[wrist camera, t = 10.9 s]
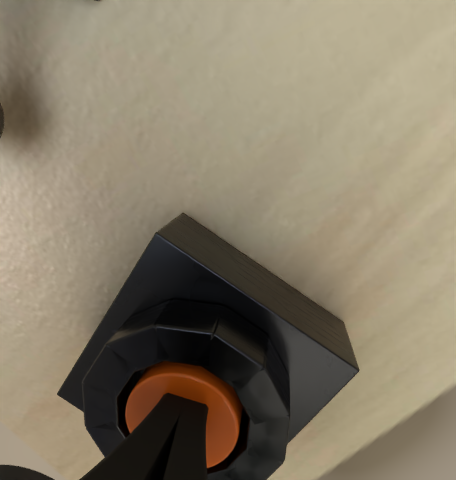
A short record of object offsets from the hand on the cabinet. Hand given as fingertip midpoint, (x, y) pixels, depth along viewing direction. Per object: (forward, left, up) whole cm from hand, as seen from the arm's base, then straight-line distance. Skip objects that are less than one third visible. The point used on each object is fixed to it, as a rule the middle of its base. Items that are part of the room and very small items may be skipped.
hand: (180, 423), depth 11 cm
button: (0, 0, -2) cm, 2 cm away
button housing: (0, 0, -5) cm, 5 cm away
